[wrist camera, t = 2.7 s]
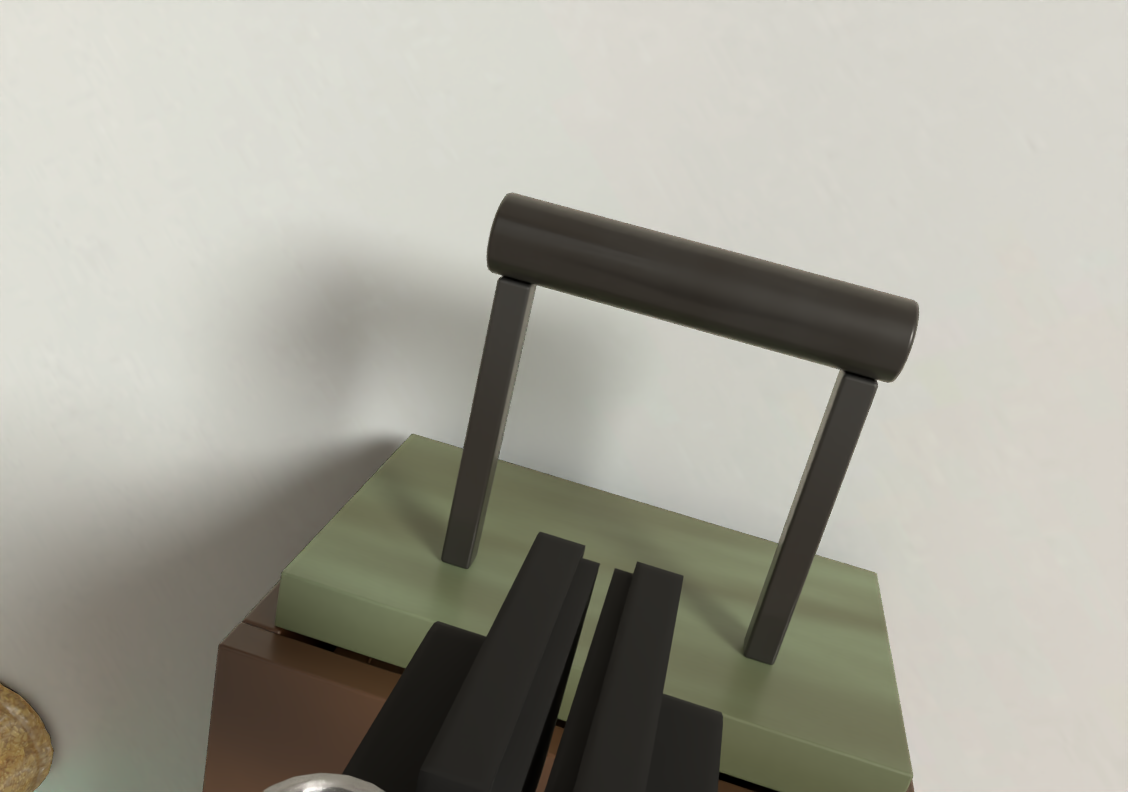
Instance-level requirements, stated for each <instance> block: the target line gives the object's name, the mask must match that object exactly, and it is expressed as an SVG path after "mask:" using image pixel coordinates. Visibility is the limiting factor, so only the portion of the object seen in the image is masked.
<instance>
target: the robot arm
mask: <svg viewBox="0 0 1128 792" xmlns="http://www.w3.org/2000/svg"><path fill="white" fill-rule="evenodd" d="M585 546H586V545H583V544H579V543H576V542H573V541H570V540H566V539H563V538H560V537H557V536H553V535H550V534H547V533H544V532H539V533H538V534H537V536H536V538H535V540H534V542H533V544H532V546H531V548H530V550H529V552H528V554H527V556H526V558H525V560H524V562H523V564H522V566H521V568H520V570H519V572H518V574H517V576H516V578H515V580H514V582H513V584H512V586H511V588H510V590H509V592H508V594H507V596H506V598H505V600H504V602H503V604H502V606H501V608H500V610H499V612H498V614H497V616H496V618H495V620H494V622H493V624H492V626H491V628H490V630H489V632H488V634H487V636H483V635H480V634H477V633H474V632H471V631H468V630H465V629H462V628H458V627H455V626H452V625H449V624H446V623H443V622H440V621H437V622H435V623H434V624H433V625H432V626H431V628H430V629H429V631H428V632H427V634H426V636H425V637H424V639H423V641H422V642H421V644H420V646H419V647H418V649H417V650H416V652H415V654H414V655H413V657H412V659H411V660H410V662H409V664H408V665H407V667H406V669H405V670H404V672H403V674H402V675H401V677H400V679H399V680H398V682H397V684H396V685H395V687H394V688H393V690H392V692H391V693H390V695H389V697H388V698H387V700H386V702H385V703H384V705H383V707H382V708H381V710H380V712H379V713H378V715H377V717H376V718H375V720H374V722H373V723H372V725H371V727H370V728H369V730H368V731H367V733H366V735H365V736H364V738H363V740H362V741H361V743H360V745H359V746H358V748H357V750H356V751H355V753H354V755H353V756H352V758H351V760H350V761H349V763H348V765H347V766H346V768H345V769H344V771H343V773H342V774H330V773H316V774H309V775H302V776H295V777H292V778H289V779H287V780H284V781H282V782H280V783H277V784H275V785H272V786H270V787H268V788H267V789H266V790H264V791H263V792H536V789H537V786H538V783H539V780H540V777H541V774H542V770H543V767H544V764H545V760H546V757H547V754H548V750H549V746H550V743H551V739H552V736H553V732H554V728H555V725H556V721H557V718H558V714H559V710H560V707H561V703H562V700H563V696H564V692H565V689H566V685H567V682H568V678H569V675H570V671H571V667H572V664H573V660H574V657H575V653H576V649H577V646H578V642H579V639H580V635H581V631H582V628H583V624H584V621H585V617H586V613H587V610H588V606H589V603H590V599H591V595H592V592H593V588H594V585H595V581H596V577H597V574H598V570H599V566H600V563H597V562H594V561H591V560H588V559H585V558H583V556H584V551H585ZM683 577H684V576H683V575H680V574H677V573H674V572H670V571H667V570H664V569H661V568H657V567H654V566H651V565H648V564H644V563H641V562H638V561H637V563H636V566H635V569H634V573H630V572H627V571H623V570H620V569H617V568H615V569H614V572H613V576H612V579H611V582H610V585H609V588H608V591H607V595H606V598H605V601H604V604H603V607H602V610H601V614H600V617H599V620H598V623H597V626H596V629H595V633H594V636H593V639H592V642H591V645H590V648H589V652H588V655H587V658H586V661H585V664H584V667H583V671H582V674H581V677H580V680H579V683H578V686H577V690H576V693H575V696H574V699H573V702H572V705H571V709H570V712H569V715H568V718H567V721H566V724H565V728H564V731H563V734H562V737H561V740H560V743H559V747H558V750H557V753H556V756H555V759H554V762H553V766H552V769H551V772H550V775H549V778H548V781H547V785H546V788H545V791H544V792H718V781H719V768H720V756H721V744H722V731H723V715H722V712H719V711H716V710H713V709H710V708H707V707H704V706H701V705H698V704H694V703H691V702H688V701H685V700H682V699H679V698H676V697H673V696H670V695H667V694H663V690H664V684H665V679H666V673H667V668H668V662H669V656H670V651H671V645H672V640H673V634H674V628H675V623H676V617H677V612H678V606H679V601H680V595H681V589H682V584H683Z"/></svg>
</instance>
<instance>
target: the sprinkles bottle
mask: <svg viewBox="0 0 1128 792" xmlns="http://www.w3.org/2000/svg"><path fill="white" fill-rule="evenodd" d="M53 752H54V750H53V748H52V745H51V739H50V735H49V734H48V732H47V731H46V729H45V726H44V723H43V722H42V721H41V719H40V717H39V715H38V714H37V713H36V712H35V711H34V710H33V709H32V707H31V706H30V705H29V704H28V703H27V702H26V701H25V700H24V699H23V698H22V697H21V696H20V695H18V694H17V693H15V692H13V691H11V690H10V689H8V688H6V687H4V686H3V685H2V684H0V792H33V791H34V790H35V789H36V788H37V787H39V785H40V784H41V783H42V781H43V780H44V779H45V778H46V776H47V775H48V773H49V771H50V767H51V764H52V758H53Z"/></svg>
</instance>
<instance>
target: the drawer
mask: <svg viewBox="0 0 1128 792" xmlns="http://www.w3.org/2000/svg"><path fill="white" fill-rule="evenodd" d="M487 267H488V269H489V270H490V271H491V272H492V273H495V274H499V275H502V276H501V277H500V278H499V279H498V281H497V286H496V291H495V295H494V300H493V305H492V310H491V315H490V320H489V325H488V330H487V335H486V339H485V344H484V349H483V354H482V359H481V364H480V369H479V374H478V379H477V383H476V388H475V393H474V398H473V403H472V408H471V413H470V418H469V423H468V427H467V432H466V437H465V442H464V447H463V449H462V448H459V447H455V446H452V445H449V444H445V443H442V442H439V441H435V440H432V439H429V438H426V437H422V436H419V435H416V434H411V435H410V436H409V438H408V439H407V440H406V441H405V442H404V443H403V444H402V445H401V446H400V447H399V448H398V449H397V450H396V451H395V452H394V453H393V455H392V456H391V457H390V458H389V459H388V460H387V461H386V462H385V463H384V464H383V465H382V466H381V467H380V468H379V469H378V470H377V472H376V473H375V474H374V475H373V476H372V477H371V478H370V479H369V480H368V481H367V482H366V483H365V484H364V485H363V486H362V487H361V489H360V490H359V491H358V492H357V493H356V494H355V495H354V496H353V497H352V498H351V499H350V500H349V501H348V502H347V503H346V504H345V506H344V507H343V508H342V509H341V510H340V511H339V512H338V513H337V514H336V515H335V516H334V517H333V518H332V519H331V520H330V521H329V523H328V524H327V525H326V526H325V527H324V528H323V529H322V530H321V531H320V532H319V533H318V534H317V535H316V536H315V537H314V538H313V540H312V541H311V542H310V543H309V544H308V545H307V546H306V547H305V548H304V549H303V550H302V551H301V552H300V553H299V554H298V555H297V557H296V558H295V559H294V560H293V561H292V562H291V563H290V564H289V565H288V566H287V567H286V568H285V569H284V570H283V571H282V573H281V579H280V587H279V594H278V602H277V609H276V617H275V626H277V627H280V628H283V629H286V630H289V631H292V632H295V633H298V634H301V635H304V636H307V637H310V638H313V639H316V640H319V641H322V642H325V643H329V644H332V645H335V646H337V647H336V649H335V650H334V651H333V652H334V653H337V654H340V655H343V656H346V657H349V658H352V659H355V660H358V661H361V662H364V663H367V664H370V665H374V666H377V667H380V668H383V669H386V670H389V671H392V672H395V673H398V674H401V675H402V674H403V672H404V670H405V669H406V667H407V665H408V664H409V662H410V660H411V659H412V657H413V655H414V654H415V652H416V650H417V649H418V647H419V646H420V644H421V642H422V641H423V639H424V637H425V636H426V634H427V632H428V631H429V629H430V628H431V626H432V625H433V624H434V623H435V622H437V621H440V622H443V623H446V624H449V625H452V626H455V627H458V628H462V629H465V630H468V631H471V632H474V633H477V634H480V635H483V636H487V634H488V632H489V630H490V628H491V626H492V624H493V622H494V620H495V618H496V616H497V614H498V612H499V610H500V608H501V606H502V604H503V602H504V600H505V598H506V596H507V594H508V592H509V590H510V588H511V586H512V584H513V582H514V580H515V578H516V576H517V574H518V572H519V570H520V568H521V566H522V564H523V562H524V560H525V558H526V556H527V554H528V552H529V550H530V548H531V546H532V544H533V542H534V540H535V538H536V536H537V534H538V533H539V532H544V533H547V534H550V535H553V536H557V537H560V538H563V539H566V540H570V541H573V542H576V543H579V544H583V545H586V546H585V551H584V556H583V558H585V559H588V560H591V561H594V562H597V563H600V566H599V570H598V574H597V577H596V581H595V585H594V588H593V592H592V595H591V599H590V603H589V606H588V610H587V613H586V617H585V621H584V624H583V628H582V631H581V635H580V639H579V642H578V646H577V649H576V653H575V657H574V660H573V664H572V667H571V671H570V675H569V678H568V682H567V685H566V689H565V692H564V696H563V700H562V703H561V707H560V710H559V714H558V718H557V721H556V725H555V726H558V727H561V728H565V724H566V721H567V718H568V715H569V712H570V709H571V705H572V702H573V699H574V696H575V693H576V690H577V686H578V683H579V680H580V677H581V674H582V671H583V667H584V664H585V661H586V658H587V655H588V652H589V648H590V645H591V642H592V639H593V636H594V633H595V629H596V626H597V623H598V620H599V617H600V614H601V610H602V607H603V604H604V601H605V598H606V595H607V591H608V588H609V585H610V582H611V579H612V576H613V572H614V569H615V568H617V569H620V570H623V571H627V572H630V573H634V569H635V566H636V563H637V561H638V562H641V563H644V564H648V565H651V566H654V567H657V568H661V569H664V570H667V571H670V572H674V573H677V574H680V575H683V576H684V577H683V584H682V589H681V595H680V601H679V606H678V612H677V617H676V623H675V628H674V634H673V640H672V645H671V651H670V656H669V662H668V668H667V673H666V679H665V684H664V690H663V694H667V695H670V696H673V697H676V698H679V699H682V700H685V701H688V702H691V703H694V704H698V705H701V706H704V707H707V708H710V709H713V710H716V711H719V712H722V715H723V731H722V744H721V756H720V768H719V780H722V781H725V782H728V783H731V784H734V785H737V786H740V787H743V788H746V789H749V790H752V791H755V792H906V791H907V789H908V787H909V784H910V782H911V780H912V778H913V772H912V766H911V761H910V755H909V750H908V744H907V739H906V733H905V728H904V722H903V717H902V711H901V705H900V700H899V694H898V689H897V683H896V678H895V672H894V667H893V661H892V655H891V650H890V644H889V639H888V633H887V628H886V622H885V617H884V611H883V606H882V600H881V594H880V589H879V583H878V578H877V574H876V573H875V572H871V571H868V570H865V569H861V568H858V567H855V566H851V565H848V564H845V563H841V562H838V561H835V560H831V559H828V558H825V557H821V556H818V555H815V554H816V551H817V549H818V546H819V543H820V541H821V538H822V535H823V532H824V530H825V527H826V524H827V522H828V519H829V516H830V514H831V511H832V508H833V506H834V503H835V500H836V498H837V495H838V492H839V490H840V487H841V484H842V482H843V479H844V476H845V474H846V471H847V468H848V466H849V463H850V460H851V458H852V455H853V452H854V449H855V447H856V444H857V441H858V439H859V436H860V433H861V431H862V428H863V425H864V423H865V420H866V417H867V415H868V412H869V409H870V407H871V404H872V401H873V399H874V396H875V393H876V391H877V388H878V383H877V380H879V381H883V382H886V383H889V382H893V381H894V380H895V379H896V378H897V377H898V375H899V374H900V373H901V371H902V369H903V367H904V365H905V363H906V361H907V359H908V356H909V353H910V351H911V348H912V345H913V342H914V338H915V335H916V330H917V326H918V320H919V306H918V303H917V302H915V301H914V300H911V299H907V298H904V297H900V296H896V295H892V294H889V293H885V292H881V291H877V290H874V289H870V288H866V287H863V286H859V285H855V284H851V283H848V282H844V281H840V280H836V279H833V278H829V277H825V276H822V275H818V274H814V273H810V272H807V271H803V270H799V269H795V268H792V267H788V266H784V265H781V264H777V263H773V262H769V261H766V260H762V259H758V258H754V257H751V256H747V255H743V254H740V253H736V252H732V251H728V250H725V249H721V248H717V247H713V246H710V245H706V244H702V243H699V242H695V241H691V240H687V239H684V238H680V237H676V236H672V235H669V234H665V233H661V232H658V231H654V230H650V229H646V228H643V227H639V226H635V225H631V224H628V223H624V222H620V221H617V220H613V219H609V218H605V217H602V216H598V215H594V214H590V213H587V212H583V211H579V210H576V209H572V208H568V207H564V206H561V205H557V204H553V203H549V202H546V201H542V200H538V199H535V198H531V197H527V196H523V195H520V194H516V193H508V194H507V195H506V196H505V197H504V199H503V200H502V202H501V203H500V205H499V207H498V210H497V212H496V215H495V218H494V221H493V224H492V227H491V231H490V236H489V241H488V247H487ZM536 285H538V286H542V287H545V288H549V289H552V290H556V291H560V292H563V293H567V294H570V295H574V296H578V297H581V298H585V299H588V300H592V301H595V302H599V303H603V304H606V305H610V306H613V307H617V308H621V309H624V310H628V311H631V312H635V313H639V314H642V315H646V316H649V317H653V318H657V319H660V320H664V321H667V322H671V323H674V324H678V325H682V326H685V327H689V328H692V329H696V330H700V331H703V332H707V333H710V334H714V335H718V336H721V337H725V338H728V339H732V340H736V341H739V342H743V343H746V344H750V345H753V346H757V347H761V348H764V349H768V350H771V351H775V352H779V353H782V354H786V355H789V356H793V357H797V358H800V359H804V360H807V361H811V362H815V363H818V364H822V365H825V366H829V367H832V368H836V369H840V371H839V374H838V377H837V379H836V382H835V385H834V388H833V391H832V393H831V396H830V399H829V402H828V405H827V408H826V410H825V413H824V416H823V419H822V422H821V424H820V427H819V430H818V433H817V436H816V439H815V441H814V444H813V447H812V450H811V453H810V455H809V458H808V461H807V464H806V467H805V470H804V472H803V475H802V478H801V481H800V484H799V486H798V489H797V492H796V495H795V498H794V500H793V503H792V506H791V509H790V512H789V515H788V517H787V520H786V523H785V526H784V529H783V531H782V534H781V537H780V540H779V543H775V542H772V541H768V540H765V539H762V538H758V537H755V536H752V535H748V534H745V533H742V532H738V531H735V530H732V529H728V528H725V527H722V526H718V525H715V524H712V523H708V522H705V521H702V520H698V519H695V518H692V517H688V516H685V515H682V514H678V513H675V512H672V511H668V510H665V509H662V508H658V507H655V506H652V505H648V504H645V503H642V502H638V501H635V500H632V499H628V498H625V497H622V496H619V495H615V494H612V493H609V492H605V491H602V490H599V489H595V488H592V487H589V486H585V485H582V484H579V483H575V482H572V481H569V480H565V479H562V478H559V477H555V476H552V475H549V474H545V473H542V472H539V471H535V470H532V469H529V468H525V467H522V466H519V465H515V464H512V463H509V462H505V461H502V460H499V459H498V458H499V453H500V448H501V444H502V439H503V435H504V430H505V426H506V421H507V417H508V412H509V408H510V403H511V399H512V394H513V390H514V385H515V380H516V376H517V371H518V367H519V362H520V358H521V353H522V349H523V344H524V340H525V335H526V331H527V326H528V322H529V317H530V313H531V308H532V303H533V299H534V294H535V290H536Z"/></svg>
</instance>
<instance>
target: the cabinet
mask: <svg viewBox="0 0 1128 792" xmlns="http://www.w3.org/2000/svg"><path fill="white" fill-rule="evenodd" d="M279 587H280V580H279V582H278V583H277V584H276V585H275V586H274V587H273V588H272V589H271V590H270V591H269V592H268V593H267V594H266V595H265V597H264V598H263V599H262V600H261V601H260V602H259V603H258V604H257V605H256V606H255V607H254V608H253V609H252V611H251V612H250V613H249V614H248V615H247V616H246V617H245V618H244V619H243V621H242V622H240V623H239V624H238V625H237V626H236V627H235V628H234V629H233V630H232V631H231V632H230V633H229V634H228V635H227V637H226V638H225V639H224V640H223V641H222V642H221V643H220V644H219V646H218V655H217V664H216V673H215V682H214V692H213V701H212V710H211V719H210V729H209V738H208V747H207V756H206V766H205V775H204V784H203V792H263V791H264V790H266V789H267V788H268V787H270V786H272V785H275V784H277V783H280V782H282V781H284V780H287V779H289V778H292V777H295V776H302V775H309V774H316V773H330V774H342V773H343V771H344V769H345V768H346V766H347V765H348V763H349V761H350V760H351V758H352V756H353V755H354V753H355V751H356V750H357V748H358V746H359V745H360V743H361V741H362V740H363V738H364V736H365V735H366V733H367V731H368V730H369V728H370V727H371V725H372V723H373V722H374V720H375V718H376V717H377V715H378V713H379V712H380V710H381V708H382V707H383V705H384V703H385V702H386V700H387V698H388V697H389V695H390V693H391V692H392V690H393V688H394V687H395V685H396V684H397V682H398V680H399V679H400V677H401V674H398V673H395V672H392V671H389V670H386V669H383V668H380V667H377V666H374V665H370V664H367V663H364V662H361V661H358V660H355V659H352V658H349V657H346V656H343V655H340V654H337V653H334V652H333V651H334V650H335V649H336V647H337V646H335V645H332V644H329V643H325V642H322V641H319V640H316V639H313V638H310V637H307V636H304V635H301V634H298V633H295V632H292V631H289V630H286V629H283V628H280V627H277V626H275V617H276V609H277V602H278V594H279ZM563 731H564V728H561V727H558V726H555V728H554V732H553V736H552V739H551V743H550V746H549V750H548V754H547V757H546V760H545V764H544V767H543V770H542V774H541V777H540V780H539V783H538V786H537V789H536V792H544V791H545V788H546V785H547V781H548V778H549V775H550V772H551V769H552V766H553V762H554V759H555V756H556V753H557V750H558V747H559V743H560V740H561V737H562V734H563ZM718 792H755V791H752V790H749V789H746V788H743V787H740V786H737V785H734V784H731V783H728V782H725V781H722V780H719V781H718ZM906 792H914V787H913V781H912V780H911V782H910V784H909V787H908V789H907V791H906Z"/></svg>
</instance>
